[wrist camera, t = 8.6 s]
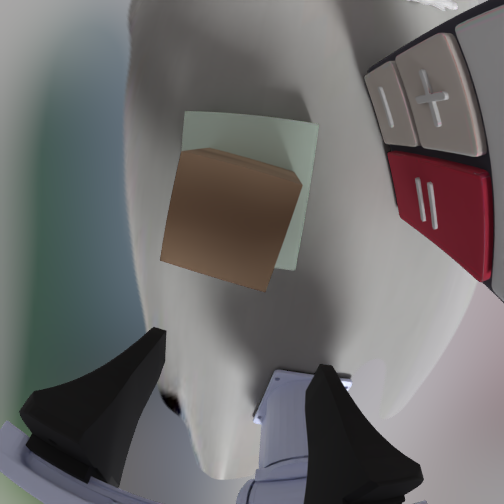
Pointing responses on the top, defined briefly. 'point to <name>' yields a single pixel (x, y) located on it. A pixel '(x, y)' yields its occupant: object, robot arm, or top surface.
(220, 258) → the walnut cube
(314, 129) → the block
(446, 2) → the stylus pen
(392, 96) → the calculator
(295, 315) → the top surface
